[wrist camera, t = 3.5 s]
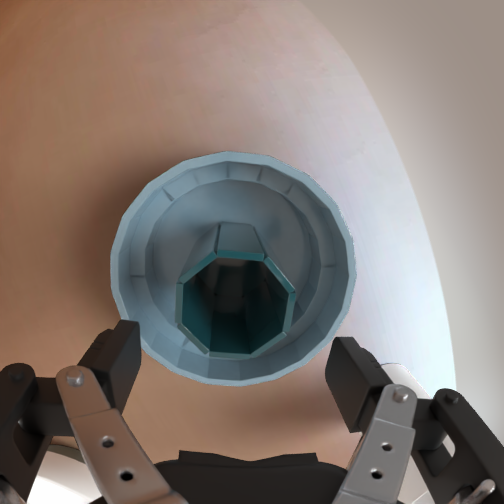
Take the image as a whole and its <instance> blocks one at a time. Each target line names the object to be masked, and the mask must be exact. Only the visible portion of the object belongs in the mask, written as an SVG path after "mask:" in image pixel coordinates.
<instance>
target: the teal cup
mask: <svg viewBox="0 0 504 504" xmlns="http://www.w3.org/2000/svg"><path fill="white" fill-rule="evenodd" d="M294 290H295V288H294V286H293V284H292V283H291V281H290V279H289V277H288V275H287V274H286V272H285V270H284V268H283V267H282V265H281V263H280V261H279V260H278V258H277V256H276V254H275V253H274V251H273V249H272V247H271V246H270V245H269V244H268V242H267V241H266V240H265V239H264V237H263V236H262V235H261V234H260V232H259V231H258V230H257V229H256V227H255V226H253V227H252V225H251V224H244V223H234V222H224V221H222V222H221V225H220V223H219V222H218V223H217V224H216V225H214V226H213V227H212V228H211V229H210V230H208V231H207V232H206V233H205V234H203V235H202V236H201V237H200V238H199V239H197V240H196V242H195V244H194V246H193V248H192V250H191V252H190V254H189V256H188V259H187V261H186V263H185V265H184V267H183V269H182V271H181V274H180V276H179V278H178V280H177V282H176V292H175V323H178V325H177V328H178V329H179V330H180V331H181V332H182V333H183V334H184V335H185V336H186V337H187V338H188V339H189V340H190V341H191V342H192V343H193V344H194V345H195V346H196V347H197V348H198V349H199V350H200V351H201V352H202V353H203V354H207V353H208V352H209V357H218V358H231V359H246V360H249V359H250V355H251V356H252V357H253V358H256V357H257V356H258V355H260V354H261V353H263V352H264V351H266V350H267V349H269V348H270V347H272V346H273V345H274V344H276V343H277V342H279V341H280V340H282V339H283V338H284V337H286V336H287V335H286V332H289V331H290V326H291V321H292V315H293V310H294V304H295V299H296V292H295V291H294Z"/></svg>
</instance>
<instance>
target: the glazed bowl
mask: <svg viewBox="0 0 504 504" xmlns="http://www.w3.org/2000/svg"><path fill="white" fill-rule="evenodd" d="M222 221H224V222H234V223H244V224H251V225H252V227H253V226H255V227H256V229H257V230H258V231H259V232H260V234H261V235H262V236H263V237H264V239H265V240H266V241H267V242H268V244H269V245H270V246H271V247H272V249H273V251H274V253H275V254H276V256H277V258H278V260H279V261H280V263H281V265H282V267H283V268H284V270H285V272H286V274H287V275H288V277H289V279H290V281H291V283H292V284H293V286H294V288H295V290H294V291H295V292H296V299H295V304H294V310H293V315H292V321H291V326H290V331H289V332H286V335H287V336H286V337H284V338H283V339H282V340H280V341H279V342H277V343H276V344H274V345H273V346H272V347H270V348H269V349H267V350H266V351H264V352H263V353H261V354H260V355H258V356H257V357H256V358H253V357H252V356H251V355H250V359H249V360H246V359H231V358H218V357H209V352H208V353H207V354H203V353H202V352H201V351H200V350H199V349H198V348H197V347H196V346H195V345H194V344H193V343H192V342H191V341H190V340H189V339H188V338H187V337H186V336H185V335H184V334H183V333H182V332H181V331H180V330H179V329H178V328H177V325H178V323H175V292H176V282H177V280H178V278H179V276H180V274H181V271H182V269H183V267H184V265H185V263H186V261H187V259H188V256H189V254H190V252H191V250H192V248H193V246H194V244H195V242H196V240H197V239H199V238H200V237H201V236H202V235H203V234H205V233H206V232H207V231H208V230H210V229H211V228H212V227H213V226H214V225H216V224H217V223H218V222H219V223H220V225H221V222H222ZM110 268H111V290H112V294H113V297H114V300H115V303H116V305H117V308H118V311H119V313H120V316H121V319H124V320H131V321H138V322H139V324H140V339H141V348H142V349H143V350H144V351H145V352H146V353H147V354H148V355H150V356H151V357H152V358H154V359H155V360H156V361H158V362H159V363H161V364H162V365H163V366H165V367H166V368H168V369H169V370H171V371H172V372H174V373H176V374H179V375H182V376H185V377H187V378H190V379H193V380H196V381H199V382H202V383H205V384H211V385H224V386H246V385H252V384H257V383H262V382H267V381H272V380H275V379H277V378H279V377H282V376H284V375H286V374H288V373H290V372H292V371H294V370H296V369H298V368H299V367H301V366H303V365H305V364H306V363H307V362H309V361H310V360H311V359H312V358H313V357H314V356H315V355H316V354H317V353H318V352H320V351H321V350H322V349H323V348H324V347H325V346H326V345H327V344H328V343H329V342H330V341H331V340H332V338H333V337H334V335H335V333H336V332H337V330H338V328H339V327H340V325H341V323H342V322H343V320H344V318H345V316H346V315H347V313H348V311H349V307H350V303H351V299H352V295H353V290H354V286H355V282H356V276H357V273H356V262H355V252H354V242H353V238H352V236H351V233H350V231H349V229H348V227H347V224H346V222H345V220H344V218H343V216H342V214H341V212H340V209H339V207H338V205H337V204H336V203H335V201H334V200H333V199H332V198H331V197H330V196H329V195H328V194H327V193H326V192H325V191H324V190H323V189H322V188H321V187H320V186H319V185H318V184H317V183H316V182H315V181H314V180H313V179H312V178H311V177H310V176H309V175H307V174H306V173H304V172H302V171H300V170H298V169H296V168H294V167H292V166H290V165H288V164H286V163H284V162H282V161H279V160H277V159H275V158H273V157H271V156H267V155H259V154H251V153H242V152H233V151H223V152H219V153H214V154H209V155H205V156H201V157H196V158H192V159H188V160H184V161H182V162H180V163H179V164H177V165H175V166H174V167H172V168H171V169H169V170H167V171H166V172H164V173H163V174H161V175H160V176H158V177H157V178H155V179H153V180H152V181H150V182H149V183H148V184H147V185H146V186H145V187H144V188H143V190H142V191H141V192H140V193H139V195H138V196H137V197H136V199H135V200H134V201H133V202H132V204H131V205H130V206H129V208H128V209H127V210H126V212H125V213H124V214H123V216H122V218H121V221H120V224H119V227H118V230H117V233H116V236H115V239H114V243H113V246H112V249H111V253H110Z"/></svg>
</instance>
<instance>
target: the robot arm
mask: <svg viewBox="0 0 504 504" xmlns="http://www.w3.org/2000/svg"><path fill="white" fill-rule="evenodd" d="M140 365H141V339H140V324H139V322H138V321H131V320H124V319H121V320H120V321H119V322H118V324H117V325H116V327H115V328H114V330H112V329H107V330H105V331H103V332H102V333H100V334H99V335H98V336H97V337H96V339H95V340H94V343H92V344H91V346H90V348H89V349H88V350H87V352H86V353H85V354H84V356H83V357H82V359H81V360H80V362H79V363H78V364H77V366H69V367H66V368H63V369H62V370H60V371H59V372H58V373H57V375H56V378H45V377H36V376H35V372H34V370H33V368H32V367H31V366H29V365H27V364H24V363H14V364H10V365H8V366H6V367H5V368H3V369H2V371H1V372H0V504H26V503H27V500H28V497H29V495H30V492H31V489H32V486H33V484H34V481H35V479H36V476H37V473H38V471H39V468H40V466H41V464H42V461H43V459H44V456H45V454H46V452H47V449H48V447H49V445H50V442H51V440H52V438H53V436H73V437H74V438H75V440H76V443H77V445H78V447H79V450H80V452H81V454H82V457H83V459H84V461H85V463H86V465H87V468H88V470H89V472H90V474H91V476H92V478H93V480H94V482H95V484H96V486H97V488H98V490H99V492H100V494H101V497H99V498H97V499H96V500H94V501H92V502H90V503H89V504H405V503H403V502H401V501H399V500H397V499H398V496H399V493H400V490H401V486H402V483H403V480H404V476H405V473H406V469H407V466H408V462H409V458H410V454H411V456H412V458H413V460H414V462H415V464H416V466H417V468H418V470H419V472H420V474H421V476H422V478H423V480H424V482H425V484H426V486H427V488H428V490H429V492H430V494H431V496H432V498H433V500H434V502H435V504H504V447H503V445H502V444H501V443H500V441H499V440H498V439H497V438H496V436H495V435H494V434H493V433H492V431H491V430H490V429H489V428H488V426H487V425H486V424H485V423H484V422H483V420H482V419H481V418H480V417H479V415H478V414H477V413H476V412H475V410H474V409H473V408H472V407H471V406H470V404H469V403H468V402H467V401H466V400H465V398H464V397H463V396H462V395H461V394H460V393H458V392H457V391H455V390H452V389H446V388H444V389H440V390H438V391H437V392H436V393H435V395H434V397H433V399H422V398H417V395H416V393H415V392H414V391H413V390H412V389H410V388H409V387H407V386H404V385H401V384H394V383H393V381H392V380H391V379H390V377H389V376H388V375H387V373H386V372H385V371H384V369H383V368H381V365H380V364H379V363H378V362H377V360H376V359H375V357H374V356H373V355H372V354H371V353H370V352H368V351H367V350H366V349H364V348H361V347H360V346H359V344H358V343H357V342H356V340H355V339H354V338H353V337H335V338H334V340H333V343H332V347H331V350H330V354H329V358H328V361H327V365H326V369H325V378H326V382H327V384H328V386H329V388H330V390H331V392H332V395H333V397H334V399H335V401H336V403H337V406H338V408H339V410H340V412H341V414H342V416H343V419H344V421H345V423H346V425H347V427H348V430H349V432H350V433H354V432H362V434H363V435H362V437H361V439H360V440H359V443H358V445H357V447H356V449H355V451H354V453H353V455H352V457H351V459H350V461H349V463H348V465H347V467H346V469H344V468H342V467H339V466H336V465H333V464H329V463H324V462H318V459H317V456H316V453H304V454H285V455H280V456H275V457H271V458H266V459H261V460H256V461H244V460H239V459H235V458H230V457H226V456H222V455H218V454H214V453H202V452H191V451H182V450H179V458H178V459H176V460H168V461H163V462H159V463H156V464H153V463H152V461H151V460H150V459H149V457H148V456H147V454H146V453H145V451H144V450H143V449H142V447H141V446H140V444H139V443H138V441H137V439H136V438H135V436H134V435H133V433H132V432H131V430H130V429H129V427H128V425H127V424H126V422H125V420H124V419H123V417H122V413H123V410H124V407H125V405H126V402H127V399H128V397H129V394H130V392H131V389H132V386H133V384H134V381H135V379H136V376H137V374H138V371H139V369H140ZM447 435H448V436H449V438H450V439H451V441H452V442H453V444H454V446H455V452H454V455H453V457H451V455H450V453H449V452H448V450H447V449H446V447H445V445H444V444H443V441H444V439H445V438H446V436H447Z"/></svg>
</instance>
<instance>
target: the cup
mask: <svg viewBox="0 0 504 504" xmlns="http://www.w3.org/2000/svg"><path fill="white" fill-rule="evenodd" d="M381 368H383V369H384V371H385V372H386V373H387V375H388V376H389V377H390V379H391V380H392V381H393V383H394V384H401V385H404V386H407V387H409V388H410V389H412V390H413V391H414V392H415V393H416V395H417V398H422V399H431V397H430V396H429V395H428V394H427V392H426V391H425V390H424V389H423V388H422V386H421V385H420V384H419V383H418V381H417V380H416V379H415V378H414V377H413V375H412V374H411V373H410V372H409V371H408V370H407V368H406V367H404V366H403V365H401V364H396V363H390V364H385V365H381ZM359 433H360V435H361V437H362V435H363V434H362V432H359ZM443 444H444V445H445V447H446V449H447V450H448V452H449V453H450V455H451V457H453V455H454V452H455V446H454V444H453V442H452V441H451V439H450V438H449V436H448V435H447V436H446V438H445V439H444V441H443ZM397 500H399V501H401V502H403V503H405V504H435V502H434V500H433V498H432V496H431V494H430V492H429V490H428V488H427V486H426V484H425V482H424V480H423V478H422V476H421V474H420V472H419V470H418V468H417V466H416V464H415V462H414V460H413V458H412V456H411V454H410V458H409V462H408V466H407V469H406V473H405V476H404V480H403V483H402V486H401V490H400V493H399V496H398V499H397Z"/></svg>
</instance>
